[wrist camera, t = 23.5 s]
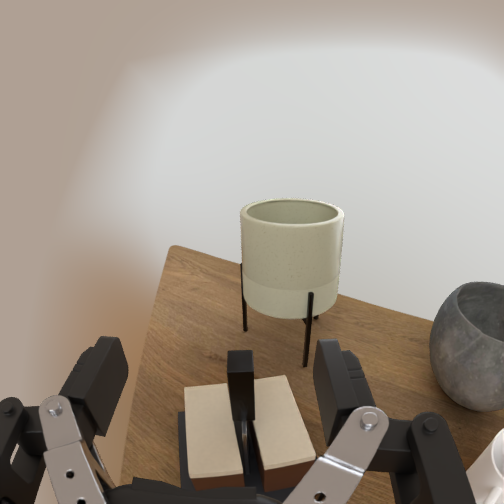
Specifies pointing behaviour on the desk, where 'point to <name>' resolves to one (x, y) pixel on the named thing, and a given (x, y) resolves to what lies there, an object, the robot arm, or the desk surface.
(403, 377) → the desk surface
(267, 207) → the planter
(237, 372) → the knife
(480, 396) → the bowl
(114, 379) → the robot arm
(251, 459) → the cake
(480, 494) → the cup
